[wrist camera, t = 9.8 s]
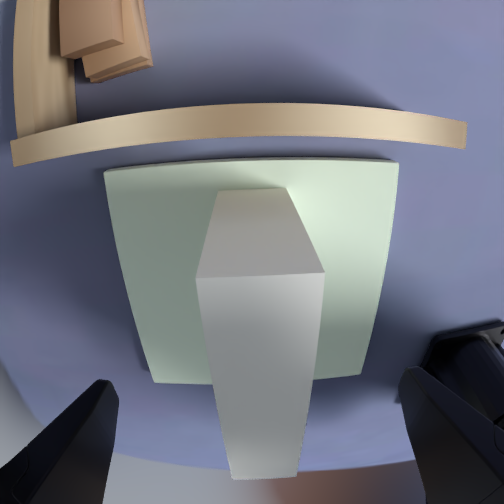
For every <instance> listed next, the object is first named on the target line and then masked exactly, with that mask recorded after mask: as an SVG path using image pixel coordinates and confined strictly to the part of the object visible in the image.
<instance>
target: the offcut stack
mask: <svg viewBox="0 0 504 504" xmlns="http://www.w3.org/2000/svg"><path fill="white" fill-rule="evenodd" d="M59 25H60V49H61V57H66V58H72V59H77V58H80V57H82V60H83V65H84V70H85V75H86V77H87V78H90V80H91V83H101V82H104V81H107V80H110V79H113V78H116V77H119V76H122V75H125V74H128V73H132V72H135V71H139V70H142V69H146V68H149V67H153V63H152V57H151V50H150V44H149V37H148V30H147V23H146V15H145V8H144V0H59Z"/></svg>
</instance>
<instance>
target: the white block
mask: <svg viewBox="0 0 504 504" xmlns="http://www.w3.org/2000/svg"><path fill="white" fill-rule="evenodd" d="M195 279H196V286H197V293H198V300H199V307H200V313H201V320H202V326H203V332H204V339H205V345H206V351H207V356H208V362H209V368H210V374H211V379H212V384H213V390H214V395H215V400H216V405H217V411H218V416H219V421H220V425H221V430H222V435H223V440H224V444H225V449H226V454H227V458H228V462H229V467H230V471H231V476H232V480H243V479H268V478H283V477H295V476H296V475H297V470H298V465H299V460H300V455H301V449H302V444H303V438H304V433H305V427H306V421H307V415H308V409H309V403H310V396H311V390H312V383H313V376H314V369H315V361H316V354H317V346H318V338H319V329H320V320H321V311H322V301H323V291H324V280H325V271H324V269H323V267H322V264H321V262H320V260H319V258H318V255H317V253H316V251H315V249H314V246H313V244H312V242H311V240H310V238H309V235H308V233H307V231H306V229H305V227H304V225H303V222H302V220H301V218H300V216H299V214H298V212H297V210H296V208H295V205H294V203H293V201H292V199H291V197H290V195H289V193H288V191H287V189H286V188H270V189H243V190H222V191H218V193H217V197H216V200H215V204H214V208H213V212H212V215H211V219H210V223H209V227H208V230H207V234H206V238H205V242H204V246H203V250H202V254H201V258H200V262H199V266H198V270H197V274H196V278H195Z"/></svg>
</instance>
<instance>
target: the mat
mask: <svg viewBox="0 0 504 504" xmlns="http://www.w3.org/2000/svg"><path fill="white" fill-rule="evenodd" d="M398 171H399V163H397V162H395V161H393V160H381V159H360V158H329V157H266V158H234V159H213V160H197V161H183V162H170V163H159V164H148V165H139V166H129V167H121V168H113V169H108V170H107V171H105V172H103V173H104V180H105V186H106V193H107V199H108V205H109V211H110V216H111V222H112V227H113V232H114V237H115V242H116V247H117V252H118V256H119V261H120V265H121V269H122V274H123V278H124V282H125V286H126V290H127V294H128V298H129V302H130V305H131V309H132V313H133V316H134V320H135V323H136V327H137V330H138V334H139V337H140V340H141V344H142V347H143V350H144V353H145V356H146V360H147V363H148V366H149V369H150V372H151V375H152V378H153V380H154V383H173V384H212V379H211V374H210V368H209V362H208V356H207V351H206V345H205V339H204V332H203V326H202V320H201V313H200V307H199V300H198V293H197V286H196V279H195V278H196V274H197V270H198V266H199V262H200V258H201V254H202V250H203V246H204V242H205V238H206V234H207V230H208V227H209V223H210V219H211V215H212V212H213V208H214V204H215V200H216V197H217V193H218V191H222V190H243V189H270V188H286V189H287V191H288V193H289V195H290V197H291V199H292V201H293V203H294V205H295V208H296V210H297V212H298V214H299V216H300V218H301V220H302V222H303V225H304V227H305V229H306V231H307V233H308V235H309V238H310V240H311V242H312V244H313V246H314V249H315V251H316V253H317V255H318V258H319V260H320V262H321V264H322V267H323V269H324V271H325V280H324V291H323V301H322V311H321V320H320V329H319V338H318V346H317V354H316V361H315V369H314V376H313V380H315V379H326V378H335V377H344V376H352V375H359V374H361V371H362V368H363V364H364V360H365V357H366V353H367V349H368V345H369V341H370V337H371V333H372V329H373V325H374V321H375V317H376V312H377V308H378V303H379V298H380V294H381V289H382V284H383V278H384V273H385V268H386V262H387V256H388V250H389V244H390V238H391V231H392V224H393V217H394V209H395V200H396V192H397V182H398Z"/></svg>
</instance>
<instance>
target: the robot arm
mask: <svg viewBox="0 0 504 504" xmlns="http://www.w3.org/2000/svg"><path fill="white" fill-rule="evenodd" d="M503 339H504V322H499V323H495V324H491V325H486V326H482V327H477V328H473V329H468V330H463V331H458V332H453V333H448V334H442V335H438V336H436V337H435V338H434V339H433V340H432V341H431V343H430V345H429V348H428V350H427V353H426V355H425V358H424V360H423V363H422V365H421V367H419V366H413V367H408V368H406V369H405V371H404V373H403V375H402V378H401V380H400V383H399V386H398V391H399V396H400V400H401V405H402V409H403V414H404V419H405V424H406V429H407V432H408V436H409V439H410V442H411V445H412V449H413V452H414V455H415V458H416V461H417V465H418V469H419V472H420V475H421V479H422V482H423V486H424V490H425V494H426V504H504V349H503V348H502V347H501V344H502V342H503ZM118 408H119V398H118V395H117V393H116V391H115V389H114V387H113V385H112V383H111V382H110V381H109V380H102V379H99V380H96V381H95V382H94V383H93V384H92V385H91V386H90V387H89V388H88V389H87V390H86V391H84V392H83V393H82V394H81V395H80V396H79V397H78V398H77V399H76V400H75V401H74V402H73V403H72V404H70V405H69V406H68V407H67V408H66V409H65V410H64V411H63V412H62V413H61V414H60V415H59V416H58V417H57V418H55V419H54V420H53V421H52V422H51V423H50V424H49V425H48V426H47V427H46V428H45V429H44V430H43V431H42V432H41V433H39V434H38V435H37V436H36V437H35V438H34V439H33V440H32V441H31V442H30V443H29V444H28V445H27V446H26V447H24V448H23V449H22V450H21V451H20V452H19V453H18V454H17V455H16V456H15V457H14V458H12V459H11V460H10V461H9V462H8V463H7V464H5V465H4V466H3V467H1V468H0V504H102V503H103V498H104V492H105V487H106V481H107V476H108V471H109V467H110V462H111V457H112V453H113V448H114V442H115V434H116V424H117V416H118Z"/></svg>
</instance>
